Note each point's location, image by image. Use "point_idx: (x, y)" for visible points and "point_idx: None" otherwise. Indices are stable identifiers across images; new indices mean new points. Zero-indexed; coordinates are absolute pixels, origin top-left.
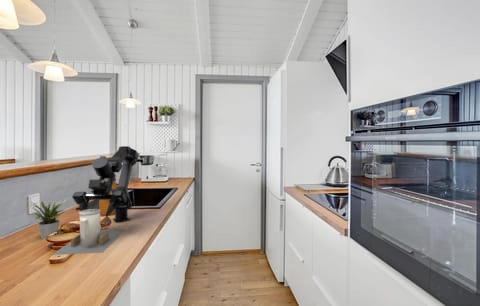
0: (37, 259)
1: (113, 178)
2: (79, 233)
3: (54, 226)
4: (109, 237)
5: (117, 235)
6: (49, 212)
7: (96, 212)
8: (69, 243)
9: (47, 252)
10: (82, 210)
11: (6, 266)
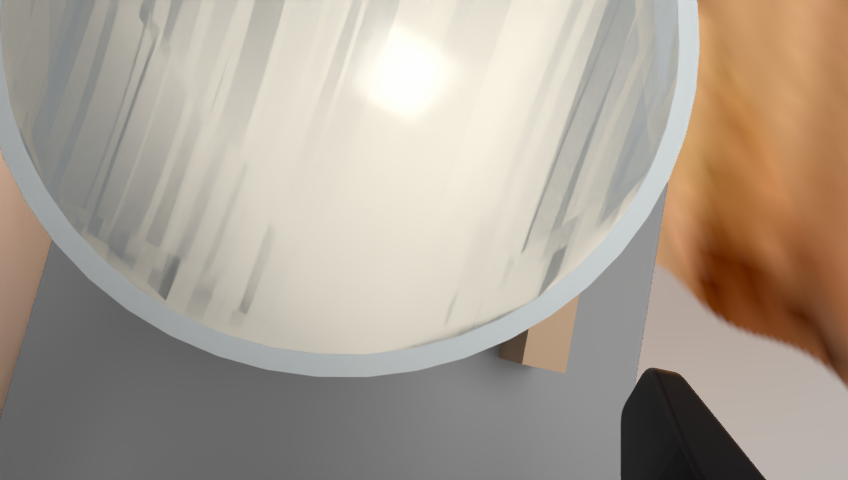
0: (812, 29)
1: None
2: (556, 332)
3: None
4: (148, 359)
5: (38, 411)
6: None
7: None
8: (632, 291)
9: (796, 192)
10: (644, 184)
11: None
